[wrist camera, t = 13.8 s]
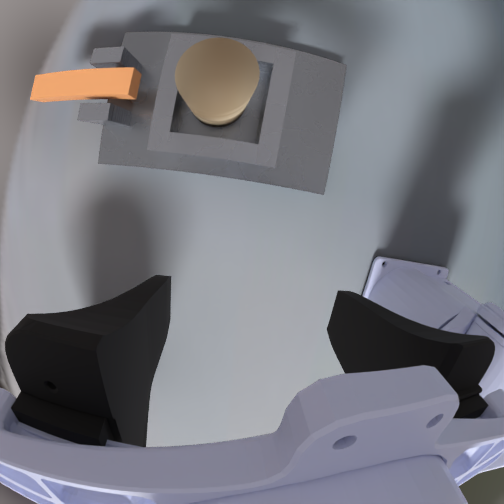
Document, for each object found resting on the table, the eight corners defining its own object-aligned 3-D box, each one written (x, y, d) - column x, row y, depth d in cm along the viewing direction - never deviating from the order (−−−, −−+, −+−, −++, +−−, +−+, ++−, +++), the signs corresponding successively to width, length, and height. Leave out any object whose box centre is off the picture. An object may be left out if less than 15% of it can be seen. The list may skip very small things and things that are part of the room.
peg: (248, 79, 17) (263, 41, 10) (242, 129, 18) (254, 115, 11) (194, 75, 16) (181, 36, 10) (187, 125, 17) (169, 109, 11)
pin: (141, 74, 14) (134, 67, 12) (136, 99, 14) (127, 94, 13) (48, 79, 13) (35, 75, 11) (43, 102, 13) (30, 99, 12)
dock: (341, 68, 18) (371, 49, 13) (319, 192, 21) (346, 204, 16) (129, 36, 15) (106, 10, 11) (103, 162, 18) (71, 167, 14)
